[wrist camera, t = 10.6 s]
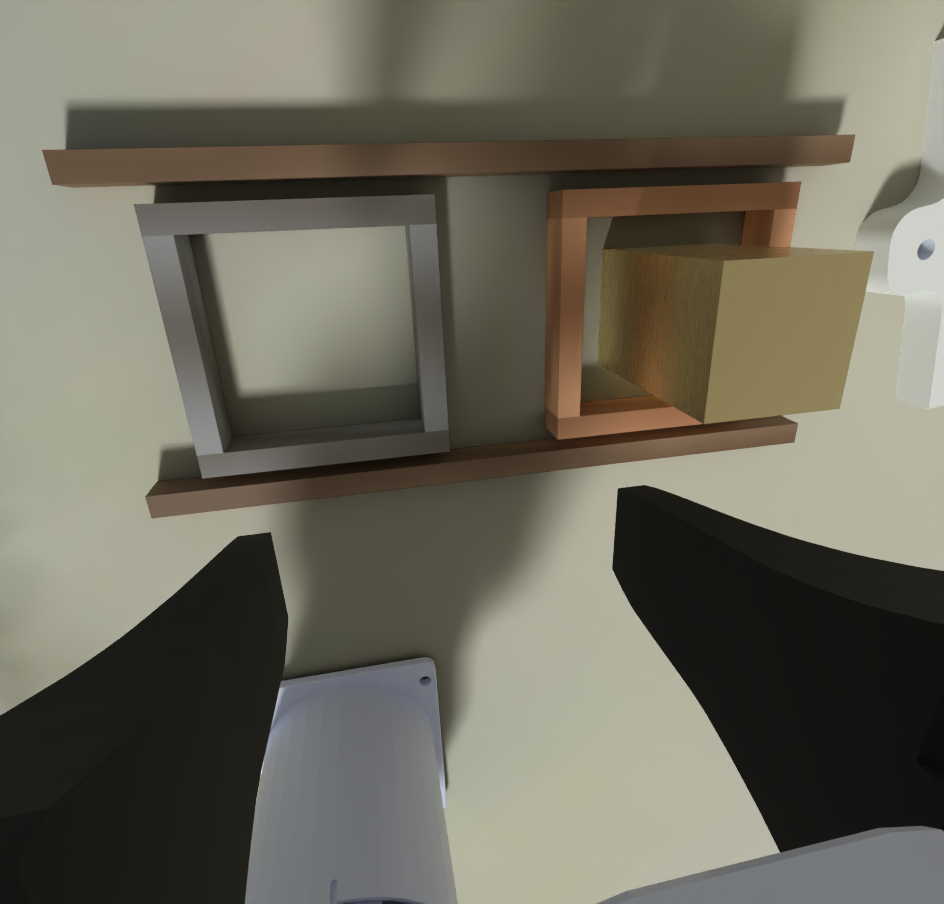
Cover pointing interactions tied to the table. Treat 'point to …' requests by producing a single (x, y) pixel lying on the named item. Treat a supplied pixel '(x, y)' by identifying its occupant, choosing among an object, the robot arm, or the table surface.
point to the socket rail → (432, 303)
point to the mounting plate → (916, 259)
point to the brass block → (732, 326)
